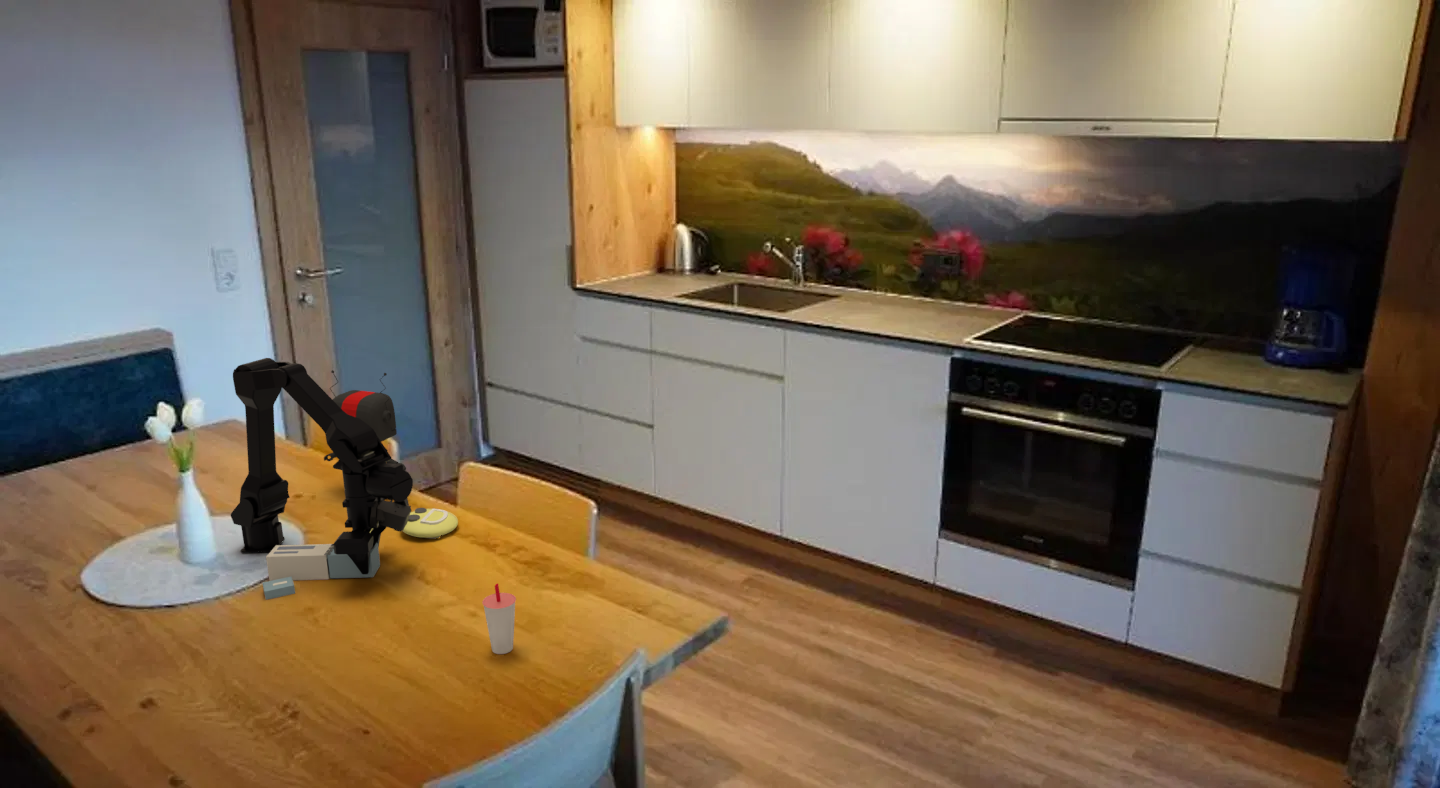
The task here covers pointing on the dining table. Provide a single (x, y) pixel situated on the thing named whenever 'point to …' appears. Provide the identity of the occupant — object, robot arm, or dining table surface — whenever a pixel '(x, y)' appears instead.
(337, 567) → the stub
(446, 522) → the emoji
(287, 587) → the torn stub
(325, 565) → the block
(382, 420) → the toy robot
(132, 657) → the dining table surface
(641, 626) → the dining table surface
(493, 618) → the cup
